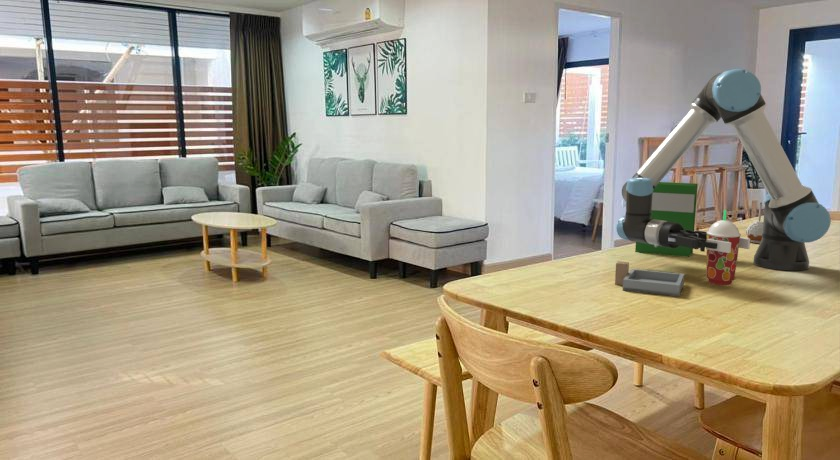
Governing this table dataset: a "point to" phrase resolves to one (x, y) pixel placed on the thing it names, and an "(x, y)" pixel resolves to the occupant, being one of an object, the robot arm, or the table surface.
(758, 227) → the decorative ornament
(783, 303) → the table surface
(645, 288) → the tray
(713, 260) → the smoothie
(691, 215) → the hardback book
